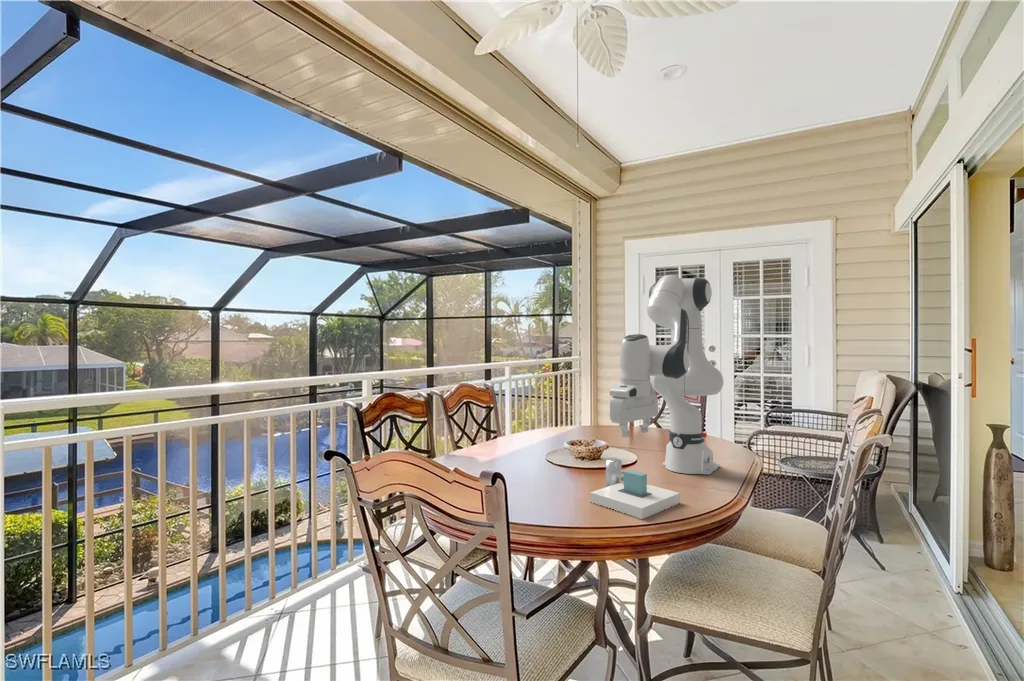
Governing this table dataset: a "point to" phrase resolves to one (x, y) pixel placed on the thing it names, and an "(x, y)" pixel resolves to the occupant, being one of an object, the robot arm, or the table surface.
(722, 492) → the table surface
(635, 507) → the socket plate
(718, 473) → the table surface
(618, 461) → the round peg
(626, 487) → the flat bar
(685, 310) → the robot arm
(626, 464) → the table surface
